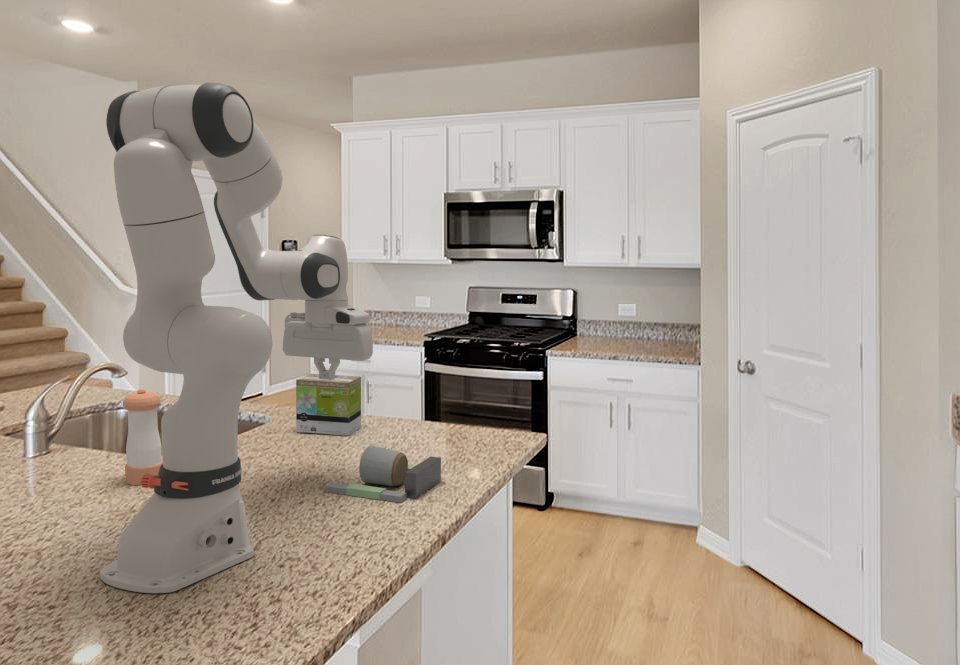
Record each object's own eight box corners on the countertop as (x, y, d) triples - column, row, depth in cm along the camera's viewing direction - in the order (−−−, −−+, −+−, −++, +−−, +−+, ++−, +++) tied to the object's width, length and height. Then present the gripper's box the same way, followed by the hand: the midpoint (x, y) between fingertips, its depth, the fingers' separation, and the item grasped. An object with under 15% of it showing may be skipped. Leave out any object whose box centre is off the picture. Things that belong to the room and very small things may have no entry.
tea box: (295, 433, 185) (294, 378, 184) (310, 425, 195) (310, 372, 194) (349, 436, 183) (349, 381, 181) (362, 427, 193) (361, 374, 191)
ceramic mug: (394, 491, 140) (394, 454, 139) (358, 486, 143) (358, 450, 142) (416, 477, 150) (416, 442, 149) (382, 473, 153) (382, 438, 152)
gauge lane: (400, 503, 134) (400, 495, 133) (324, 491, 139) (324, 484, 139) (439, 475, 151) (439, 468, 151) (370, 466, 157) (370, 459, 157)
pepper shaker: (149, 486, 141) (145, 393, 139) (117, 483, 143) (113, 391, 141) (171, 475, 148) (168, 387, 146) (141, 473, 150) (137, 385, 148)
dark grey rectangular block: (416, 498, 136) (416, 473, 135) (405, 497, 137) (405, 472, 136) (440, 480, 147) (441, 457, 147) (430, 479, 148) (430, 456, 148)
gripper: (275, 312, 147) (276, 377, 148) (361, 316, 140) (361, 385, 141) (293, 311, 153) (294, 373, 154) (376, 314, 145) (376, 380, 147)
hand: (327, 379), depth 147 cm, fingers closed
